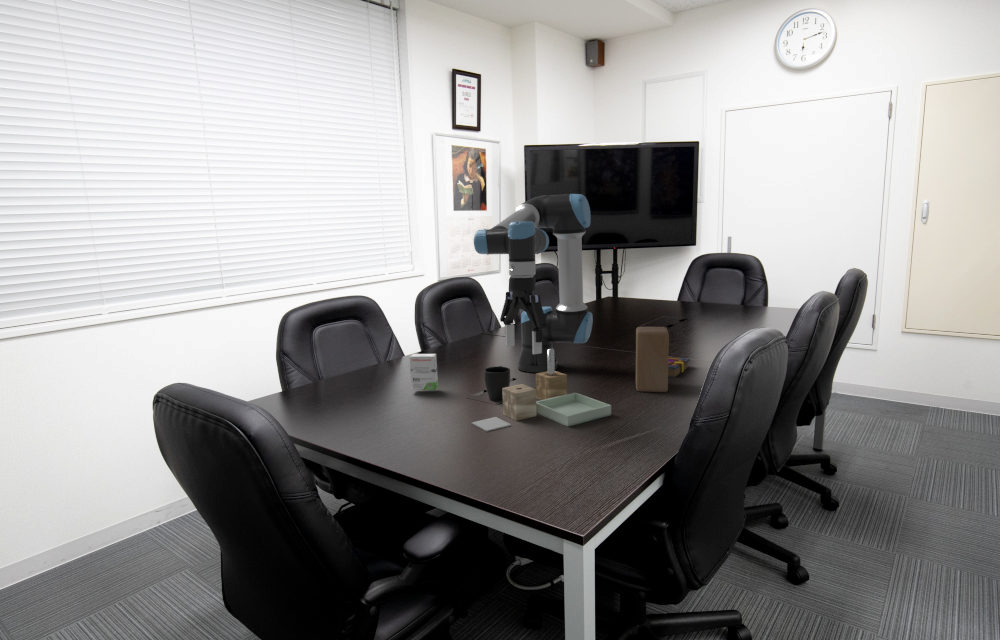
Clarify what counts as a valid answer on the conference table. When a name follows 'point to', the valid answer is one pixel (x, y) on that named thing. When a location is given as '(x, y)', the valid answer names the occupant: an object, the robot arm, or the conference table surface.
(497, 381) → the mug
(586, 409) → the sage tray
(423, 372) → the ink box
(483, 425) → the mat
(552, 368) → the steel pin
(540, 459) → the conference table surface
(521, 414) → the maple block
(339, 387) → the conference table surface
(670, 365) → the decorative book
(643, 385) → the block
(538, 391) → the oak block
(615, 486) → the conference table surface
